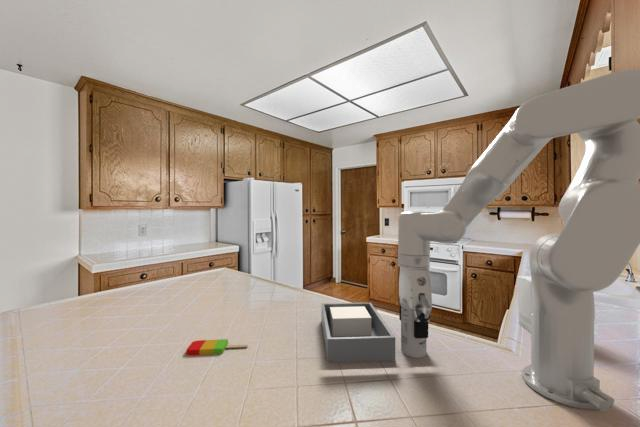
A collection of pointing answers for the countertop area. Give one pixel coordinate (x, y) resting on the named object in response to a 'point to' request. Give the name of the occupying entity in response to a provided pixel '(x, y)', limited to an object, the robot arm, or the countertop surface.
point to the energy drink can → (410, 333)
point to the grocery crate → (358, 339)
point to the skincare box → (525, 301)
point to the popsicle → (210, 347)
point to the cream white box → (350, 321)
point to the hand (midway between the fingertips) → (412, 328)
